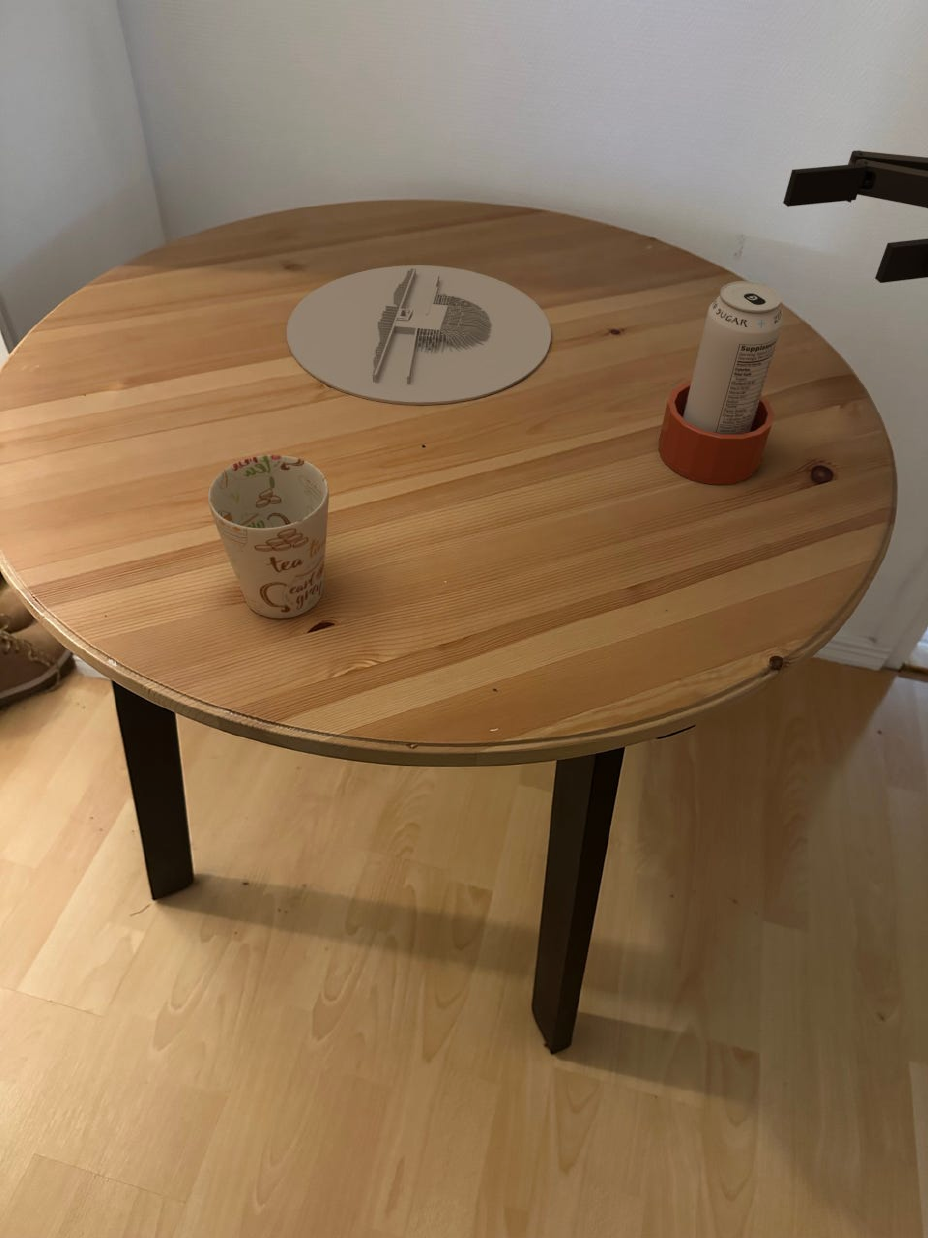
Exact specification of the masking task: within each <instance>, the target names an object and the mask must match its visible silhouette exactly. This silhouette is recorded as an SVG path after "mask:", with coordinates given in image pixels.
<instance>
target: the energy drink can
mask: <svg viewBox="0 0 928 1238" xmlns="http://www.w3.org/2000/svg"><path fill="white" fill-rule="evenodd" d="M781 303H782V297H781V295H780V293H778V292H777V290H776V289H774V288H772V287H771V286H769V285H766V284H764V283H760V282H756V281H748V280H738V281H732V282H730V283H726V284H725V285H723V286H722V287H721V289H720V292H719V295H718V296H717V297H716V298H715V300H714V301H712V303H711V304H710V305H709V307H708V309H707V314H706V319H705V322H704V327H703V332H702V335H701V339H700V344H699V349H698V353H697V357H696V361H695V365H694V369H693V373H692V378H691V381H692V382H691V381H690V382H691V386H690V391H689V395H688V399H687V403H686V408H685V412H684V416H683V418H684V419H685V420H686V421H687V422H688V423H690V424H692V425H694V426H696V427H697V428H699V429H701V430H704V431H708V432H712V433H716V434H721V435H742V434H745V433H749V432H750V430H751V427H752V423H753V420H754V417H755V413H756V410H757V407H758V403H759V400H760V397H761V396H762V394H763V389H764V387H765V383H766V380H767V377H768V373H769V370H770V366H771V364H772V359H773V356H774V353H775V350H776V346H777V343H778V341H779V340H778V339H779V337H780V333H781V329H782V326H783V323H784V318H783V313H782V310H781V307H780V306H781Z"/></svg>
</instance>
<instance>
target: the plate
mask: <svg viewBox="0 0 928 1238" xmlns="http://www.w3.org/2000/svg"><path fill="white" fill-rule="evenodd" d="M286 341H287V342H286V343H287V345H288V346H287V347H288V349H289V351H290V353H291V355H292V357H293V359H294V360H295V361H296V362H297V363H298V364H299V366H300V367H301V368H302V369H303V370H305V372H307V373H308V374H310V375H311V376H312V377H313V378H315V379H316V380H318V381H319V382H321V383H323V384H325V385H327V386H329V387H331V388H333V389H335V390H337V391H339V392H342V393H345V394H348V395H350V396H354V397H357V398H361V399H364V400H369V401H375V402H379V403H380V402H381V403H386V404H394V405H403V406H404V405H405V406H406V405H407V406H436V405H437V406H438V405H450V404H456V403H462V402H467V401H468V402H469V401H471V400H476V399H481V398H484V397H487V396H490V395H492V394H495V393H498V392H502V391H503V390H506V389H509V388H511V387H512V386H515V385H516V384H518V383H521V382H522V381H523V380H525V379H526V378H527V377H529V376H530V375H531V374H532V373H534V372H535V371H536V370H537V369H538V368H539V367H540V366H541V364H542V363H543V362H544V361H545V359H546V357H547V355H548V353H549V351H550V346H551V342H552V328H551V324H550V322H549V319H548V318H547V315H546V314H545V312H544V311H543V309H542V308H541V307H540V305H538V304H537V302H535V301H534V300H533V299H532V298H530V297H529V296H528V295H527V294H526V293H524V292H522V291H521V290H519V289H518V288H516V287H514V286H512V285H510V284H509V283H507V282H505V281H502V280H499V279H497V278H495V277H492V276H490V275H486V274H483V273H479V272H477V271H471V270H467V269H463V268H457V267H450V266H444V265H443V266H442V265H431V264H430V265H429V264H428V265H427V264H410V265H407V264H405V265H393V266H385V267H384V266H383V267H376V268H371V269H366V270H363V271H359V272H355V273H351V274H349V275H345V276H343V277H342V276H341V277H340V278H337V279H334V280H331V281H329V282H328V283H324V284H323V285H321V286H319V287H317V288H316V289H314V290H313V291H312V292H310V293H309V294H308V295H306V296H305V297H304V298H303V299H302V300H300V302H299V303H298V304H296V306H295V307H294V309H293V310H292V312H291V314H290V315H289V318H288V321H287V324H286Z"/></svg>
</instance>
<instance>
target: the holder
mask: <svg viewBox="0 0 928 1238" xmlns="http://www.w3.org/2000/svg"><path fill="white" fill-rule="evenodd" d="M691 382H692V380H690V381H687V382H683V383H682V384H680V385H679V386H678V387H676V388H674V389H673V390H672V391H671V393H670V395H669V397H668V400H667V403H666V407H665V412H664V417H663V421H662V426H661V430H660V434H659V440H658V452H659V455H660V458H661V459H662V461H663V462H664V464H665V465H666V466H667V467H668V468H669V469H671V470H672V471H673V472H674V473H676V474H678V475H680V476H681V477H684V478H686V479H688V480H691V481H694V482H696V483H701V484H706V485H717V486H721V485H726V486H727V485H733V484H737V483H740V482H743V481H745V480H747V479H749V478H751V477H752V476H753V475H754V474H755V473H756V472H757V471H758V469H759V467H760V463H761V460H762V457H763V454H764V451H765V448H766V445H767V441H768V438H769V435H770V432H771V430H772V425H773V423H774V418H775V412H774V410H773V407H772V405H771V403H770V402H769V401H768V400H767V399H766V398H765V397H764V396H763V395H761V397H760V400H759V403H758V407H757V410H756V413H755V417H754V420H753V423H752V427H751V430H750V432H749V433H745V434H742V435H721V434H716V433H712V432H708V431H704V430H701V429H699V428H697V427H696V426H694V425H692V424H690V423H688V422H687V421H686V420H685V419H684V418H683V416H684V412H685V408H686V403H687V399H688V395H689V391H690V386H691Z"/></svg>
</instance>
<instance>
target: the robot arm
mask: <svg viewBox="0 0 928 1238" xmlns="http://www.w3.org/2000/svg"><path fill="white" fill-rule="evenodd" d="M858 196H861V197H862V196H863V197H868V198H873V199H879V200H883V201H889V202H894V203H899V204H904V205H909V206H915V207H919V208H925V209H928V156H927V157H926V156H916V155H907V154H906V155H905V154H894V153H887V152H877V151H864V150H860V149H859V150H853V151H851V154H850V157H849V160H848V163H847V164H843V165H842V164H839V165H829V166H819V167H818V166H817V167H808V168H796V169H791V172H790V176H789V179H788V183H787V187H786V191H785V195H784V198H783V202H782V203H783V204H784V206H786V207H787V208H789V207H797V206H798V207H799V206H800V207H801V206H810V205H818V204H831V203H839V202H847V203H852V201H856V200H857V197H858ZM927 278H928V238H919V239H911V240H902V241H892V242H887V243H886V247H885V249H884V252H883V254H882V258H881V260H880V263H879V266H878V269H877V272H876V274H875V277H874V279H875V280H876V281H877V282H878V283H880V284H884V283H892V282H901V281H910V280H917V279H927Z"/></svg>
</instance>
